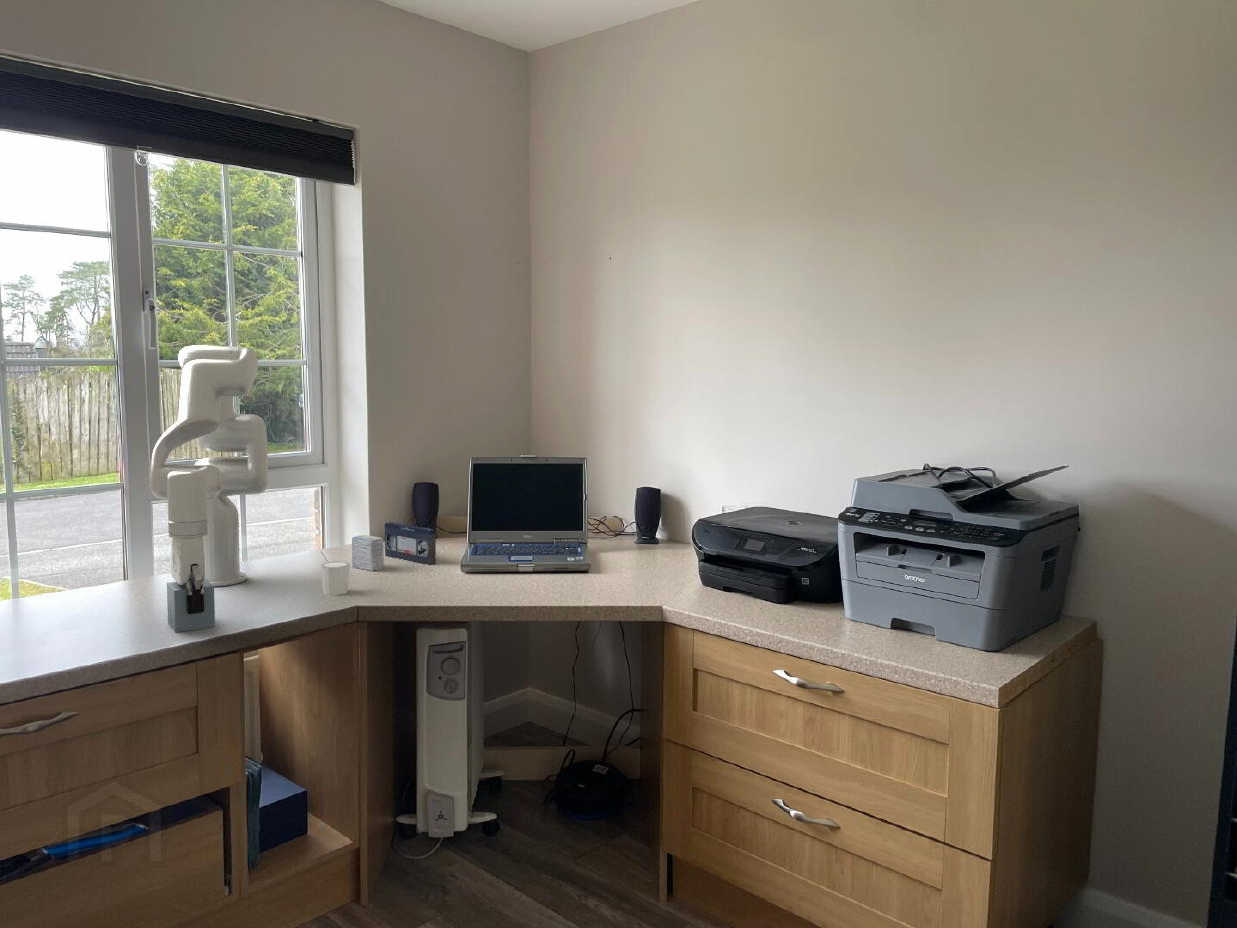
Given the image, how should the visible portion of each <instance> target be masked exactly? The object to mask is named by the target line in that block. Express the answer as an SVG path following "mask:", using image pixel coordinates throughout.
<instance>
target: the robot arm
mask: <svg viewBox="0 0 1237 928" xmlns="http://www.w3.org/2000/svg"><path fill="white" fill-rule="evenodd" d="M258 361H259V360H258V356H257V354H256V352H255V350H254V349H252V348H251V347H248V346H233V345H232V346H230V345H229V346H227V345H209V344H208V345H204V344H203V345H189V346H185V347H183V348H182V349H180V350H179V353H178V363H179V366H180V369H181V371H182V372H181V383H180V391H179V393H180V395H179V403H178V418H177V420H176V422H175V423H174V424H172V425H171V426H170V427H169V428H168V429H166V430H165V432H164V433H163V434H162V435H161V436H160V437H159V439H158V440H157V442H156V443H155V445H154V448H153V450H152V454H151V459H150V460H151V461H150V472H149V489H150V492H151V494H152V495H153V496H154V497H155V498H156V499H157V498H158V499H160V500H167V515H168V516H167V518H168V519H167V521H168V526H167V527H168V529H167V530H168V537H169V538H171V567H170V568H171V569H170V570H171V577H172V579H173V580H174V582H177V583H178V584H180V585H183V584H184V583H186V584H187V590H188V595H187V613H188V614H195V613H202V612H204V592H203V585H202V582H203V581H204V580H205V578H206V579H207V580H208V581H209V582H210V583H211V584H212V585H213V586H214V587H223V586H224V587H225V586H232V585H233V586H234V585H237V584H239V583H242V582H245V581H246V580H247V574H246V573H245V572H242V571H241V570H240V569H241V567H240V565H241V564H240V563H241V561H240V519H239V517H240V516H239V511H238V508H237V507H236V504H234V502H233V501H232V500H231V499H230V498H229V497H228V496H233V495H234V496H237V495H238V496H239V495H240V496H243V495H244V496H245V495H246V496H247V495H249V496H250V495H260V494H262V493H265V491H266V490H267V488H268V482H269V464H268V463H269V461H268V436H267V427H266V423H265V421H264V419H263V418H262V417H261V416H259V415H257V414H249V413H248V414H247V413H246V414H245V413H243V414H241V413H235V410H234V397H246V396H248V394H250V392H251V390H252V388H253V385H254V382H255V380H256V377H257V374H258V370H259V369H258V368H259V364H258V363H259V362H258ZM196 439H197V442H198V446H199V447H200V449H202V450H203V451H205V452H211V453H245V454H246V457H245V456H242V457H241V456H210V457H204V458H201V459H199V460H198V461H196V462H195V463H194V464H168V461H169V458H170V456H171V455H172V453H173V452H174V451H175V450H177V449H178V448H179V447H181V446H183V445H184V444H187V443H189V442H191V441H193V440H196ZM189 580H190V581H189ZM191 585H192V589H191Z"/></svg>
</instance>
